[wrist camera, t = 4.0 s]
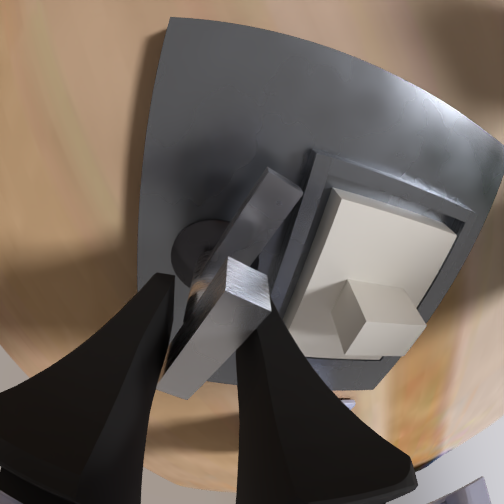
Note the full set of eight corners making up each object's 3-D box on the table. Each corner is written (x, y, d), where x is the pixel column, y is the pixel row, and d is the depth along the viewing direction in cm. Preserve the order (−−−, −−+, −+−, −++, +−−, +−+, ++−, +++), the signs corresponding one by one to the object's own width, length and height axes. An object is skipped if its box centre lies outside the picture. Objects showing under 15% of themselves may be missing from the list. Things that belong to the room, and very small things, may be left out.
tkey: (296, 178, 10) (333, 245, 6) (202, 312, 13) (189, 400, 9) (262, 156, 9) (276, 211, 5) (173, 299, 12) (151, 387, 8)
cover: (373, 344, 15) (392, 394, 12) (275, 336, 14) (282, 395, 11) (443, 222, 11) (488, 266, 8) (332, 187, 10) (367, 232, 7)
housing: (368, 377, 19) (375, 398, 17) (146, 354, 17) (139, 379, 15) (496, 145, 10) (521, 156, 8) (177, 24, 8) (164, 11, 6)
